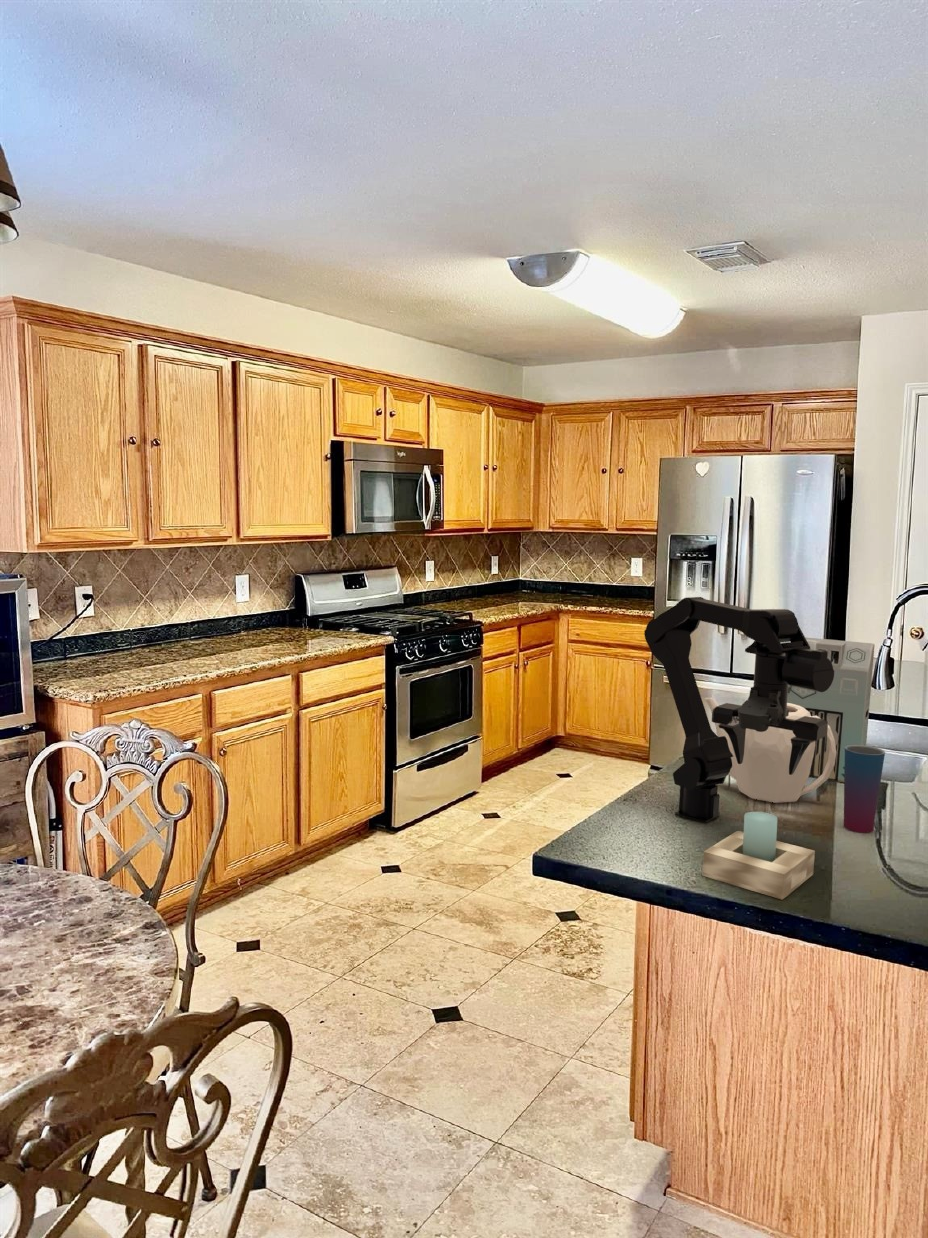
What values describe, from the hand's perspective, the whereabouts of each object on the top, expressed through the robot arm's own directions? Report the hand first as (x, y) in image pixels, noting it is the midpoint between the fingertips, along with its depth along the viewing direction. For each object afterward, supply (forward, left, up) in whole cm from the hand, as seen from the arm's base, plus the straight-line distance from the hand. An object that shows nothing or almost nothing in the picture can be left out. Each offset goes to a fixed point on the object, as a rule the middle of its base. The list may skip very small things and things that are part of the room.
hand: (765, 769), depth 160 cm
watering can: (-10, +26, -13) cm, 31 cm away
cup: (+11, +19, -13) cm, 26 cm away
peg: (+6, -16, -12) cm, 21 cm away
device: (-6, +49, -13) cm, 51 cm away
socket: (+6, -16, -13) cm, 21 cm away
